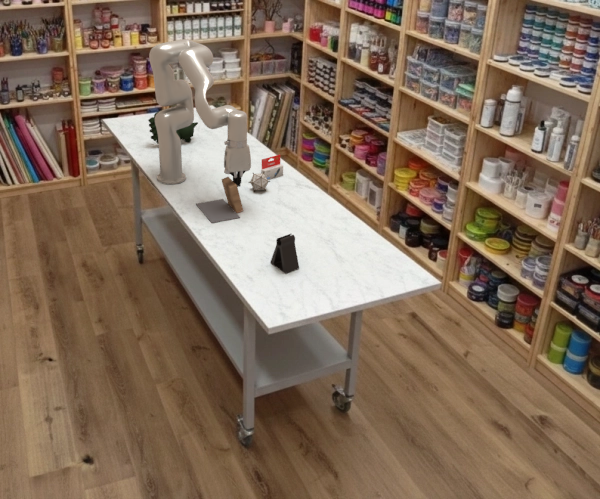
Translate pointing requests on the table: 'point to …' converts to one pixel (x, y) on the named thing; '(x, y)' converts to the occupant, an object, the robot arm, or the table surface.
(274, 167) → the ink cartridge box
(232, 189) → the walnut slab
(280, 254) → the phone stand
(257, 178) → the game die
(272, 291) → the table surface
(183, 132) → the toy figurine
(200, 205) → the mat
